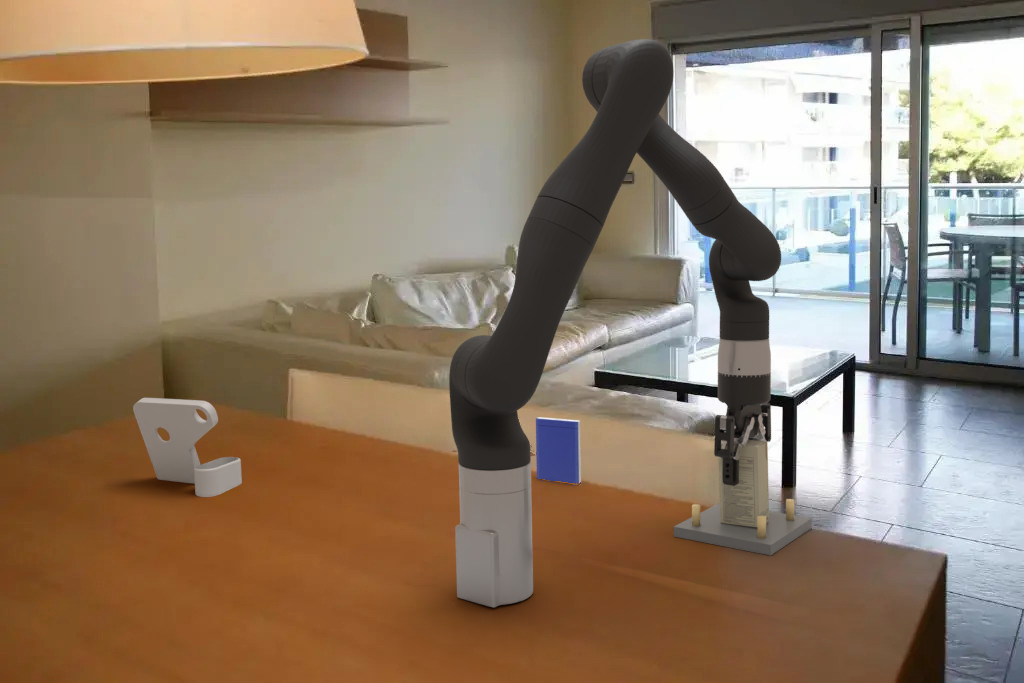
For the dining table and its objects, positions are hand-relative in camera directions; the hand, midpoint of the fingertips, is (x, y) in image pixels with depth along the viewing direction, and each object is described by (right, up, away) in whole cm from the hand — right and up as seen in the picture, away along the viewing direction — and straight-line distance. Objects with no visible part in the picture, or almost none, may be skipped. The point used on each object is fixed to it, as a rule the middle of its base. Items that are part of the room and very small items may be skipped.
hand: (743, 478), depth 143 cm
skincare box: (0, -7, +1) cm, 7 cm away
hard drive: (-26, -6, +28) cm, 38 cm away
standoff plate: (0, -8, +1) cm, 8 cm away
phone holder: (-91, -7, +28) cm, 95 cm away
